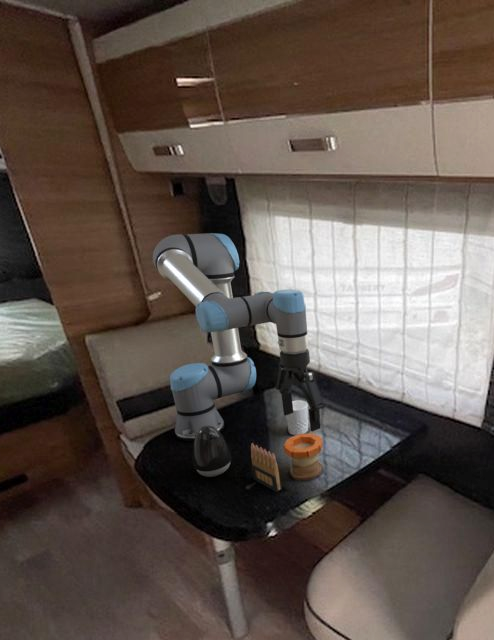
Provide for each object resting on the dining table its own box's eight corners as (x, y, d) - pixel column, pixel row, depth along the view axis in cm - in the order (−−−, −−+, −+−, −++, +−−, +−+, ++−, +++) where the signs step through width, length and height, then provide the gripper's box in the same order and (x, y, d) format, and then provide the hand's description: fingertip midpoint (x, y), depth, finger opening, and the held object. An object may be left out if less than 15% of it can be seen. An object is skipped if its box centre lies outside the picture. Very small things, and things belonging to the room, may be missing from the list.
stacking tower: (284, 471, 125) (281, 448, 121) (310, 459, 131) (308, 437, 128) (301, 484, 119) (299, 460, 116) (328, 471, 125) (326, 448, 122)
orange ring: (278, 448, 121) (277, 442, 121) (309, 435, 128) (308, 430, 128) (298, 462, 115) (297, 456, 114) (329, 448, 122) (328, 442, 121)
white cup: (282, 432, 146) (279, 407, 142) (297, 423, 152) (295, 398, 148) (299, 438, 142) (296, 412, 138) (314, 428, 149) (312, 403, 145)
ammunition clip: (282, 488, 117) (277, 452, 112) (277, 492, 116) (272, 455, 111) (258, 475, 122) (252, 440, 118) (253, 478, 121) (247, 443, 116)
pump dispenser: (204, 486, 117) (194, 439, 111) (190, 471, 124) (179, 426, 118) (239, 471, 124) (232, 426, 118) (224, 458, 130) (216, 414, 125)
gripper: (257, 343, 115) (267, 411, 123) (309, 364, 100) (316, 441, 108) (282, 337, 120) (289, 404, 128) (334, 357, 105) (339, 431, 113)
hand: (301, 421), depth 118 cm, fingers open, 13 cm apart
